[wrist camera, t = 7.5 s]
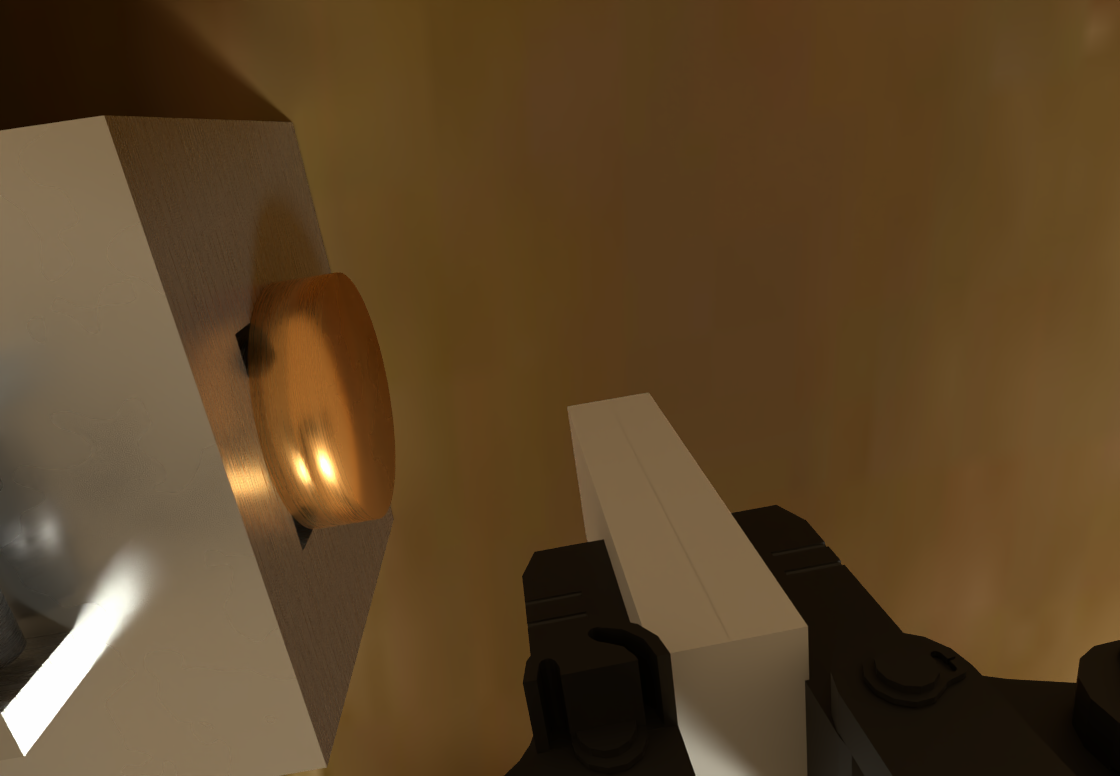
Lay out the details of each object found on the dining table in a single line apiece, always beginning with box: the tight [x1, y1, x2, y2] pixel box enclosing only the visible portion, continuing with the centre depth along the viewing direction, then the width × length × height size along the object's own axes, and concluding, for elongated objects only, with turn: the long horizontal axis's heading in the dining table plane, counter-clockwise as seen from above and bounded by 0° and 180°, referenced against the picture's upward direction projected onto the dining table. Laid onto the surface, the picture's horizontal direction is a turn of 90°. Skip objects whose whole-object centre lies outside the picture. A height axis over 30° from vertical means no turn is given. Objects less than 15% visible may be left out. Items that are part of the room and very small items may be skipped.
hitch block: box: [0, 115, 393, 776], centre depth 18 cm, size 10×14×13 cm
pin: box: [236, 273, 395, 529], centre depth 18 cm, size 18×6×6 cm, turn 98°
